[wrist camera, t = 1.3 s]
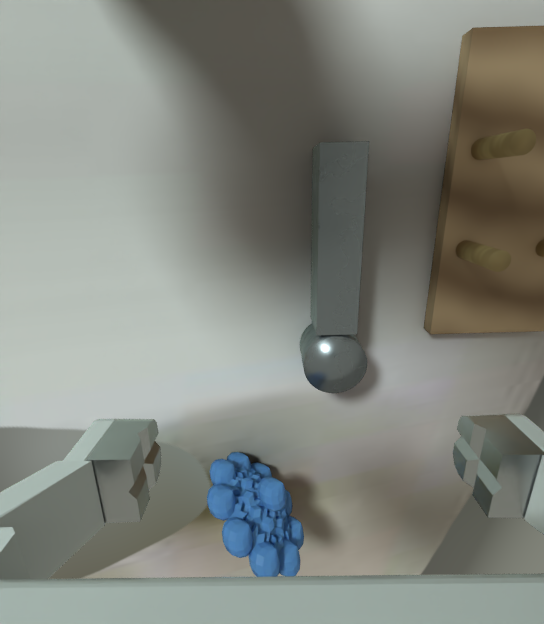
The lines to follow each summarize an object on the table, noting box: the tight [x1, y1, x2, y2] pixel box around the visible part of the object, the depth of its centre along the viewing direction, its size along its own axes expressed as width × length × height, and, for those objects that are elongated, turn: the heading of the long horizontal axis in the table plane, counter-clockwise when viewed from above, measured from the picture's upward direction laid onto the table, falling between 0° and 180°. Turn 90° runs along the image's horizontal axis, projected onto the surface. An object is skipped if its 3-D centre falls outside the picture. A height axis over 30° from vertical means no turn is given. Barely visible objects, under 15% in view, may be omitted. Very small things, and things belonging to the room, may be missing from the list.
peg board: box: [424, 26, 544, 334], centre depth 28 cm, size 24×11×6 cm, turn 1°
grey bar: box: [300, 141, 369, 393], centre depth 31 cm, size 21×6×4 cm, turn 1°
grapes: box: [207, 452, 304, 577], centre depth 35 cm, size 12×7×12 cm, turn 52°
